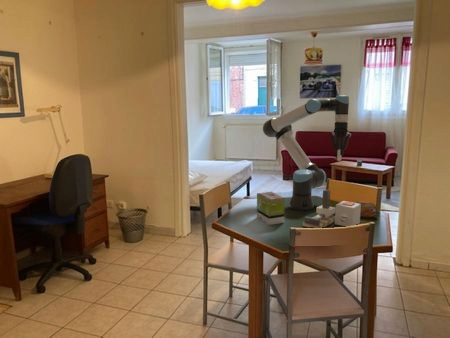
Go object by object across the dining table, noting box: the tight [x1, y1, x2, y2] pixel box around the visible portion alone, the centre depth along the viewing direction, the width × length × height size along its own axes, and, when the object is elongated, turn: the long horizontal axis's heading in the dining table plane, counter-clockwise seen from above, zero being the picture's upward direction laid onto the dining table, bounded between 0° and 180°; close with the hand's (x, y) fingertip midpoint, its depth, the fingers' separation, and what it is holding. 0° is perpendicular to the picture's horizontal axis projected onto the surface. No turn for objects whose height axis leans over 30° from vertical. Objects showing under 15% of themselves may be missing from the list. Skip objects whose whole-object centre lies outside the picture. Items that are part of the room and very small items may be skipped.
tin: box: [353, 201, 378, 218], centre depth 226 cm, size 15×3×8 cm, turn 68°
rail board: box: [302, 213, 335, 229], centre depth 215 cm, size 24×10×5 cm, turn 140°
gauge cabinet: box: [334, 200, 361, 227], centre depth 212 cm, size 10×11×11 cm
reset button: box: [342, 201, 355, 206], centre depth 211 cm, size 5×5×3 cm
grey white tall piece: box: [315, 189, 336, 218], centre depth 217 cm, size 7×8×15 cm
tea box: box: [256, 191, 286, 226], centre depth 218 cm, size 15×10×15 cm, turn 23°
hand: (339, 160), depth 236 cm, fingers closed
